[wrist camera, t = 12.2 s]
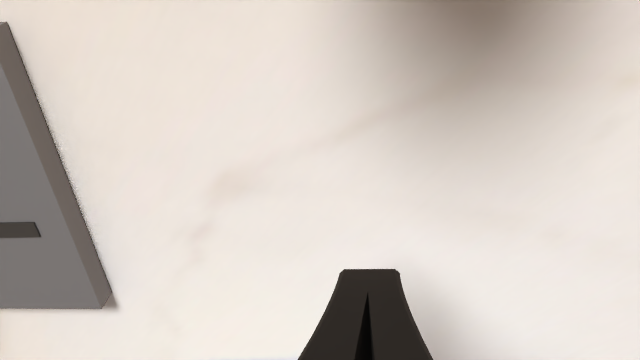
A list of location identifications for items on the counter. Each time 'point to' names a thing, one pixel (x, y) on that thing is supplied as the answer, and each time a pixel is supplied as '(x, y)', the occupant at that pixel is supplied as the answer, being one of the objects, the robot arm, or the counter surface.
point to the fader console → (38, 207)
